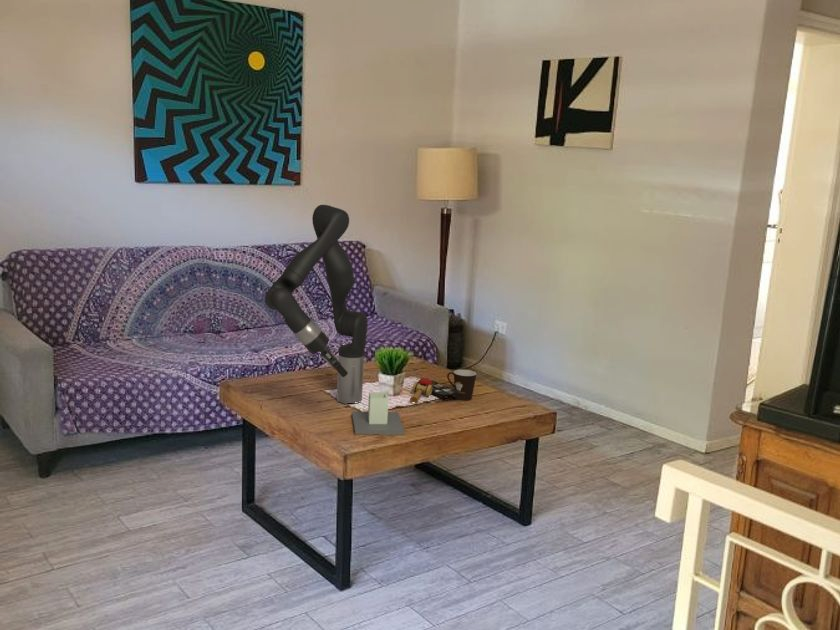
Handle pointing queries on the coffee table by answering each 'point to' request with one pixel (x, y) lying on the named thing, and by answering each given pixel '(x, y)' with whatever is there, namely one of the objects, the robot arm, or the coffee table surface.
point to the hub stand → (364, 427)
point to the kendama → (421, 389)
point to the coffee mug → (463, 384)
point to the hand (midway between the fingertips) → (343, 372)
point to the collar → (378, 408)
